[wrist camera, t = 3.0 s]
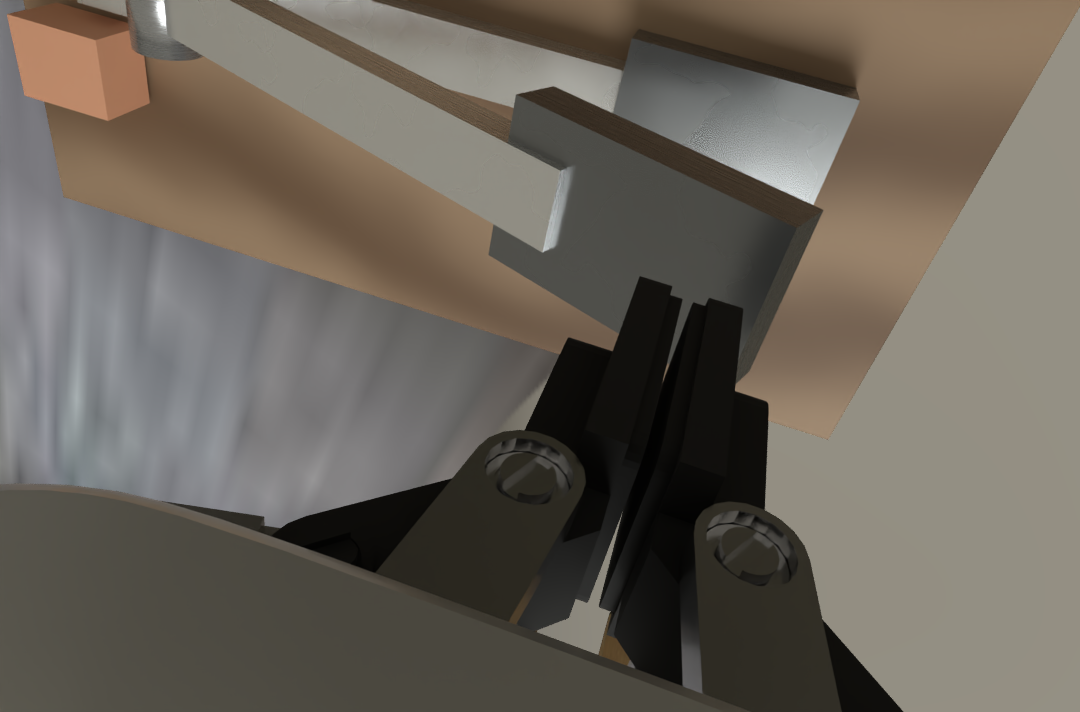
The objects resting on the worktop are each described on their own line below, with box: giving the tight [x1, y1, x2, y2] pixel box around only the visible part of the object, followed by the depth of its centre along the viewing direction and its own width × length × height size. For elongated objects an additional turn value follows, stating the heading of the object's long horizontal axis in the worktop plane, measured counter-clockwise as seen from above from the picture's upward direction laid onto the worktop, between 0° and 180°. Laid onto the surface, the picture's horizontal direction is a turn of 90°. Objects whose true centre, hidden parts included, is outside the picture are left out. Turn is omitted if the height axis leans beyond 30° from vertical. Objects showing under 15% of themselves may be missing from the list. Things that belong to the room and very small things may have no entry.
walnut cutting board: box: [24, 0, 1080, 440], centre depth 23 cm, size 19×30×2 cm, turn 79°
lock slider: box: [7, 3, 150, 121], centre depth 24 cm, size 3×2×2 cm
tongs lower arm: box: [77, 0, 860, 205], centre depth 22 cm, size 23×4×1 cm, turn 79°
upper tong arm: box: [125, 0, 823, 383], centre depth 18 cm, size 20×4×2 cm, turn 78°
